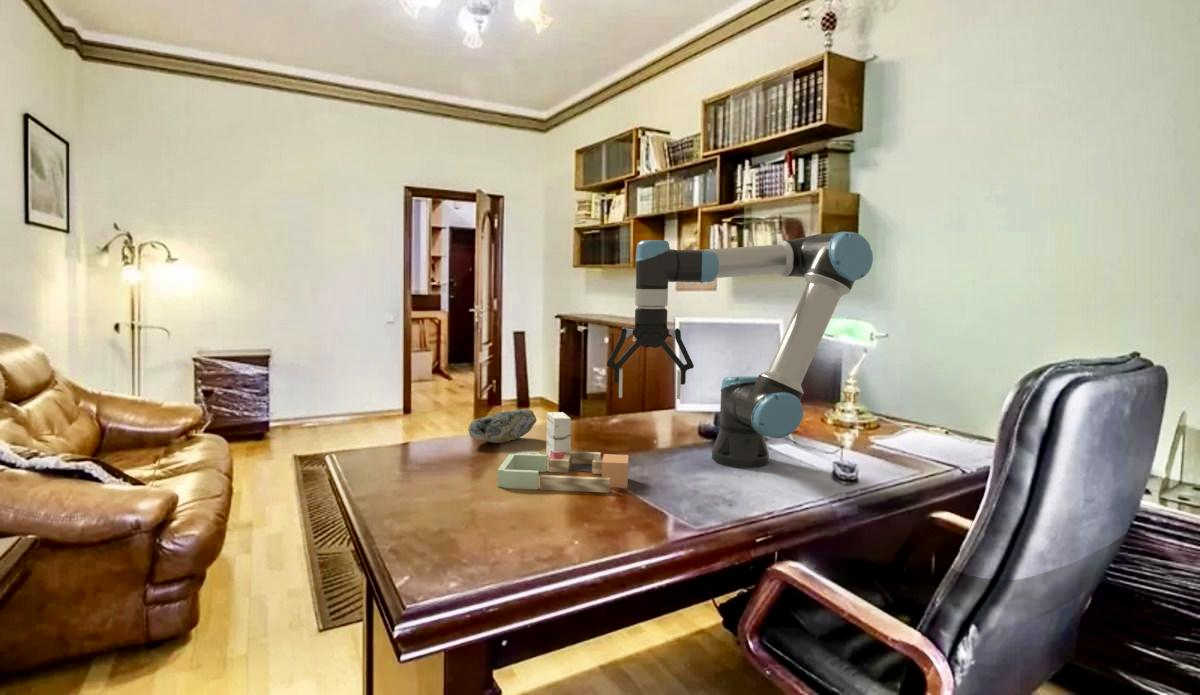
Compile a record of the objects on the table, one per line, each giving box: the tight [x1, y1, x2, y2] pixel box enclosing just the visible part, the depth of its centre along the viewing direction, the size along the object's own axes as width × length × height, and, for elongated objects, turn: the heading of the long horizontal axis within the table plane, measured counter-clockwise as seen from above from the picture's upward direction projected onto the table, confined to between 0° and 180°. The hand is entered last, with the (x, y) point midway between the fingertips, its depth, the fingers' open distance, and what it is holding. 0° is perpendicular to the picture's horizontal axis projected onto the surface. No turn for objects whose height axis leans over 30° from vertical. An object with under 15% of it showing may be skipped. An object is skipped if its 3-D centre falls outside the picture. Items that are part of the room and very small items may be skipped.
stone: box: [467, 408, 537, 444], centre depth 189 cm, size 11×21×10 cm, turn 119°
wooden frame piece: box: [539, 450, 611, 494], centre depth 160 cm, size 16×22×3 cm
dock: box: [496, 452, 548, 490], centre depth 157 cm, size 10×15×4 cm, turn 176°
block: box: [601, 453, 629, 489], centre depth 155 cm, size 6×7×6 cm
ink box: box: [545, 411, 572, 459], centre depth 175 cm, size 9×5×12 cm, turn 18°
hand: (649, 397), depth 153 cm, fingers open, 13 cm apart
